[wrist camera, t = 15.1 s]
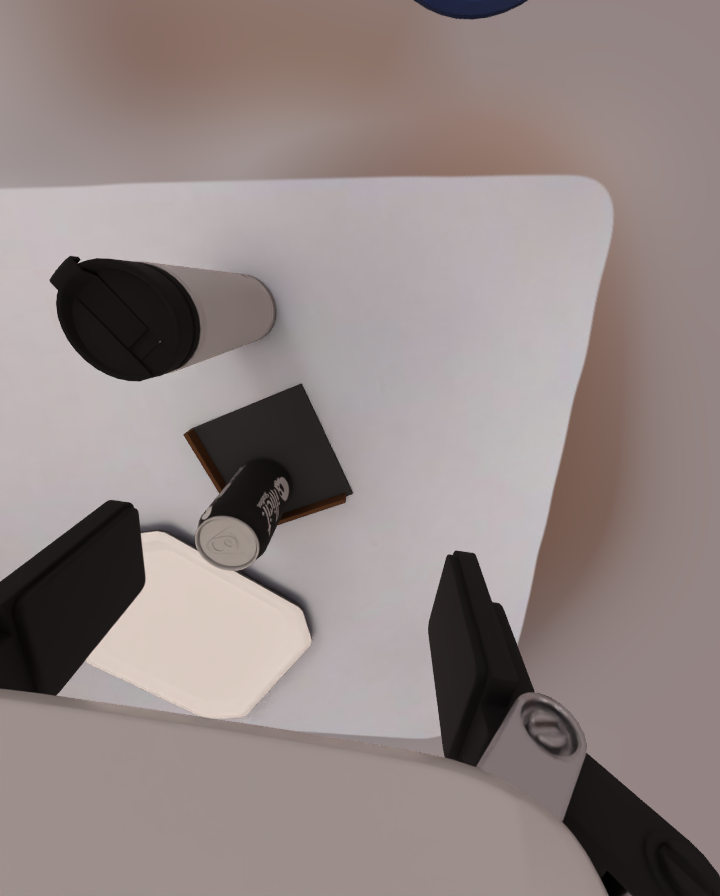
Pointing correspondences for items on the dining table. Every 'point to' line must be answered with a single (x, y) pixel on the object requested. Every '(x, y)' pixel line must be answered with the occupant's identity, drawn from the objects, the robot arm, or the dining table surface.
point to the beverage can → (244, 516)
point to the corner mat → (275, 450)
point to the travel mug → (157, 314)
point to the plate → (202, 633)
